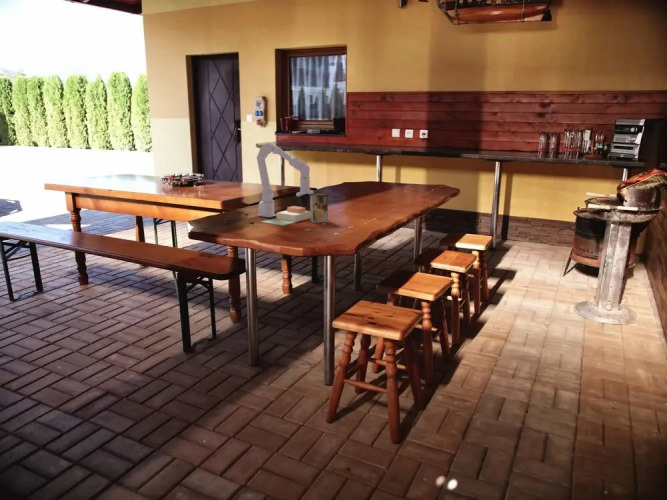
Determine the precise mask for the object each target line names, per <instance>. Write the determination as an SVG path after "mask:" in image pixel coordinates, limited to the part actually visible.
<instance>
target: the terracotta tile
mask: <svg viewBox="0 0 667 500" xmlns="http://www.w3.org/2000/svg"><path fill="white" fill-rule="evenodd" d="M286 211H287V212H294V213H302V212H305V211H306V207H303V206H297V205H291V206H287V208H286Z"/></svg>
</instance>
